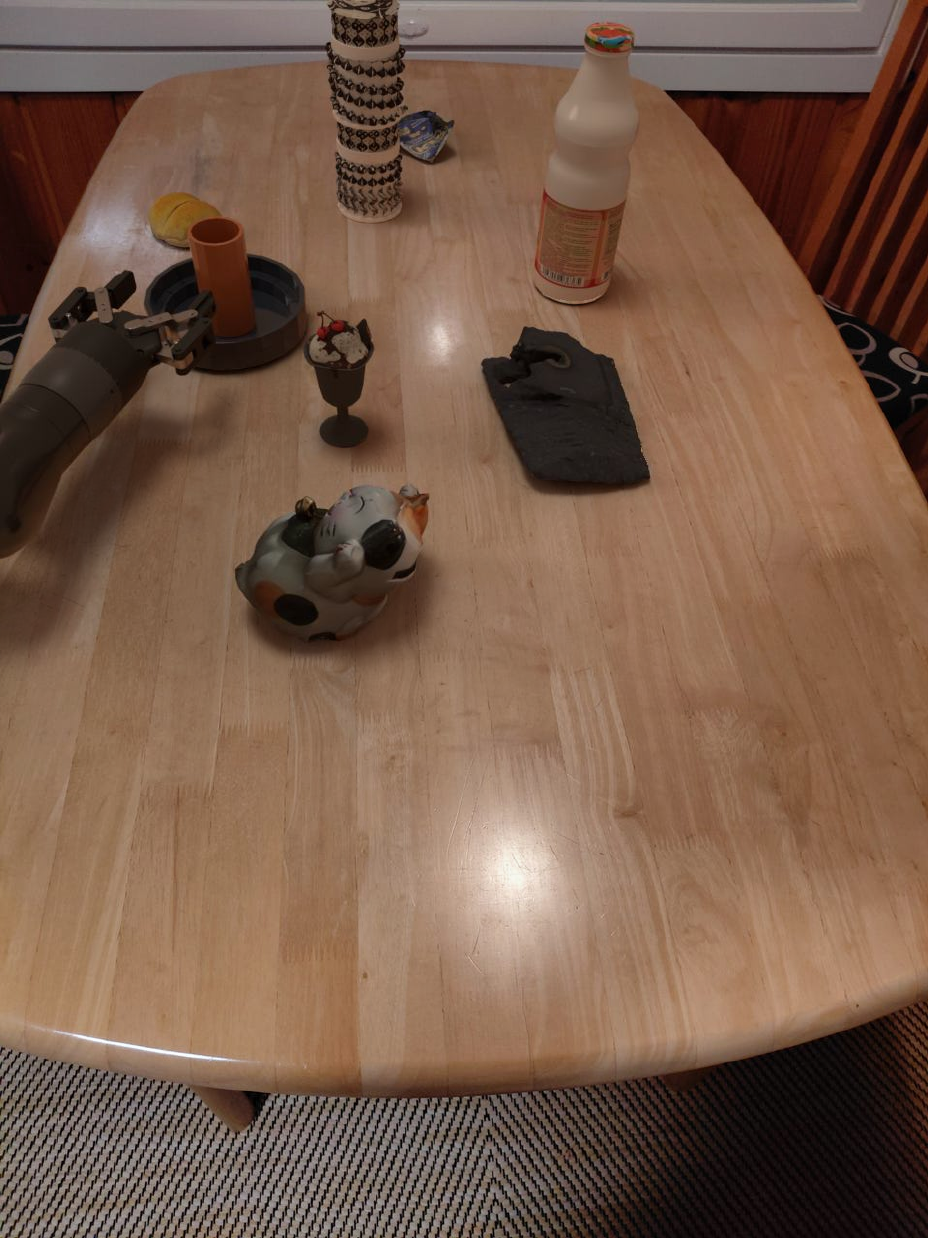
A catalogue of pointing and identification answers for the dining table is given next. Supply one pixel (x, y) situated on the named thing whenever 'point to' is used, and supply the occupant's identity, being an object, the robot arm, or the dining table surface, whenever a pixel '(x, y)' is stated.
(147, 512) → the dining table surface
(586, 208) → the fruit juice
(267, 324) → the bowl
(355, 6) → the cream patterned cylinder
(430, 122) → the snack package
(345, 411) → the sundae
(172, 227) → the bread roll
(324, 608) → the lucky cat figurine
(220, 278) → the tumbler
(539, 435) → the dark slate chunk
